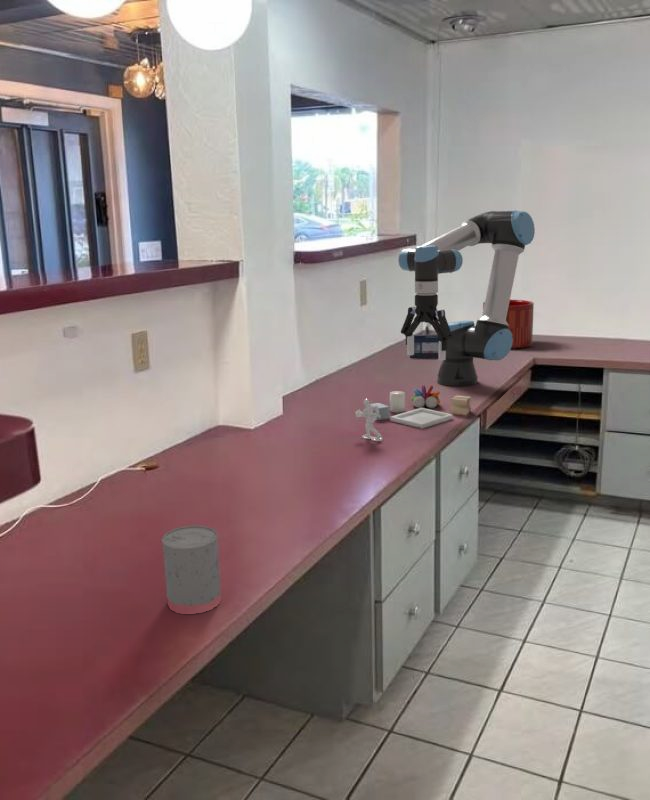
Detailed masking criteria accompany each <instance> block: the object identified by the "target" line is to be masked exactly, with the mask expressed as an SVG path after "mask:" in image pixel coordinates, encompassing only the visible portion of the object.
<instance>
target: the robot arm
mask: <svg viewBox="0 0 650 800" xmlns="http://www.w3.org/2000/svg"><path fill="white" fill-rule="evenodd" d="M460 223H461V224H460V225H459V227H456V228H454V229H452V230H450V231H447V232H446V233H444V234H441V235H440V236H438V237H436V238H434V239H432V240H429V241H427V242H426V243H424V244H422V245H418V246H416V247H415V248H410V247H409V248H404V249H403V250H401V251H400V253H399V255H398V266H399V267H400V269H402V271H407V272H414V293H415V295H414V306H410V307H408V309H407V315H406V317H405V319H404V322H403V324H402V327H401V330H400V333H401V334H402V335H404V336H405V345H406V354H407V355H406V356H408V357H410V355H414V336H411V335H414V332H416V330H417V328H418V327H419V326H420V324H421V323H427V324H429V325H430V326H432V328H433V329H434V331H435V333H436V335H438V336H439V338H440V341H439V358H437V361H438V362H441V365H440V366H439V370H438V373H437V376H436V377H437V379H436V382H437V383H438V384H439V385H443V386H450V387H467V386H473V385H476V384H477V383H478V379H479V378H478V375H477V371H476V367H475V364H474V359H482V360H487V361H502V360H503V359H505V358H506V357H507V356H508V355H509V353H510V351H511V350H512V349H511V347H512V343H513V338H512V333H511V331H510V330H508V328H509V325H508V323H507V322H506V316H507V311H508V306H509V301H510V300H511V296H512V292H513V291H512V290H513V286H514V280H515V276H516V271H517V267H518V266H517V265H518V260H519V256H520V254H523V252H525V249H526V248H525V247H526V246H527V245H529V244H531V243H532V241H533V240H534V238H535V234H536V233H535V231H536V229H535V223H534V220H533V218H532V216H531V215H530V214H529V213H528V212H527V211H521V210H499V211H498V210H493V211H492V210H491V211H487V212H483V213H480V214H478V215H475V216H473V217H471V218H468V219H467V220H464V221H462V222H460ZM479 244H491V248H492V250H494V256H493V260H492V263H491V264H492V265H491V270H490V274H489V279H488V285H487V291H486V295H485V299H484V302H485V304H484V309H483V308H482V314H481V316H480V317H479V318H478V319H477V320H476V322H475V321H474V320H459V321H452V322H448V320H447V317H446V311H445V309H439V310H438V307H437V306H438V305H439V295H438V294H437V293H438V292H439V274H448V273H449V274H453V273H455V272H458V271H459V270H460V269H461V268H462V266H463V264H464V263H463V261H464V259H463V255H462V253H461V252H460V250H462V249H464V248H466V247H468V246H469V247H475V246H476V245H479ZM415 315H416V316H415ZM475 323H476V324H475Z"/></svg>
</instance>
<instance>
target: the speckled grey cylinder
mask: <svg viewBox="0 0 650 800" xmlns="http://www.w3.org/2000/svg"><path fill="white" fill-rule="evenodd" d="M218 534H219V533H218V532H217V531H216V529H214V528H211V527H209V526H204V525H203V526H202V525H188V526H186V525H185V526H183V527H178V528H174V529H172V530H169V531H168V532H166V533H165V534H164V535H163V536H162V538H161V543H162V549H163V562H164V563H163V564H164V575H165V585H166V586H165V588H166V599H167V598H168V600H169V601H170V602H172V603H174V604H179V605H187V606H192V605H202V604H205V603H208V602H210V601H213V600H214V599H216V598H217V597H218V596H219V595H220V593H221V594H222V591H221V590H222V588H221V575H220V574H221V573H220V559H219V558H220V556H219V545H218V543H219V542H218V537H219V535H218Z"/></svg>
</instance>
